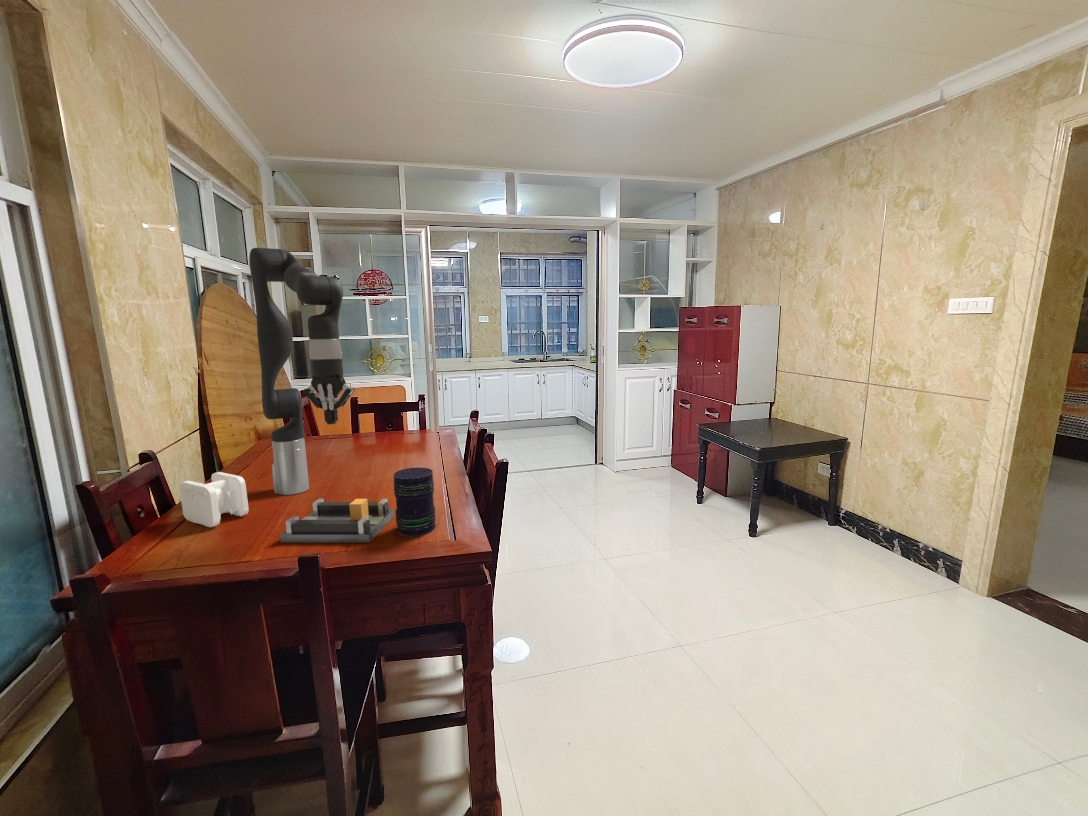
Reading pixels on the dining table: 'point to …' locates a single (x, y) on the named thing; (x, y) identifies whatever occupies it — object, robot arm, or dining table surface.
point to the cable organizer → (214, 499)
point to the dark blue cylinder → (414, 501)
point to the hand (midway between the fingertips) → (331, 423)
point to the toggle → (359, 509)
